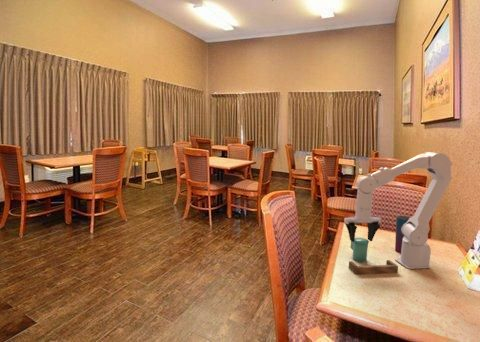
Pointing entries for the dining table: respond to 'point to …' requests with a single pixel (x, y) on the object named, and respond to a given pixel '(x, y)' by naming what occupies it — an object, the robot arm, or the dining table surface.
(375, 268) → the dock
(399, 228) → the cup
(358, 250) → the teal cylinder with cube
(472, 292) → the dining table surface
